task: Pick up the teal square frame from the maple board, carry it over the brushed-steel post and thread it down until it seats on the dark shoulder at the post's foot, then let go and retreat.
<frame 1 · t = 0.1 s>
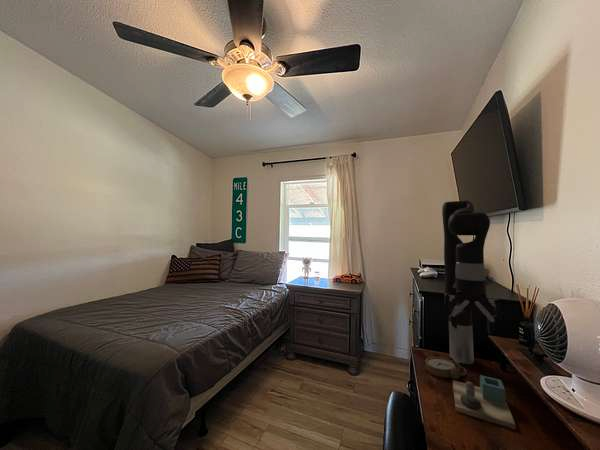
hand: (472, 330, 71), 29 cm above the table, fingers open, 8 cm apart
teal square frame: (492, 396, 82), point 1 cm above the table, touching post board
post board: (480, 403, 80), on the table
alarm clock: (445, 373, 99), on the table
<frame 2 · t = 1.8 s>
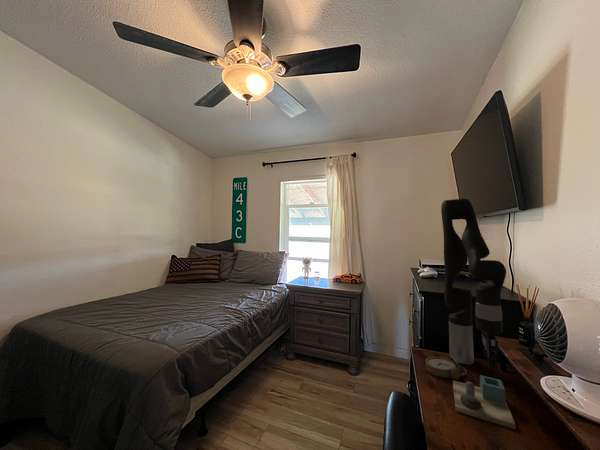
hand: (490, 363, 82), 13 cm above the table, fingers open, 8 cm apart
nothing on the table moved.
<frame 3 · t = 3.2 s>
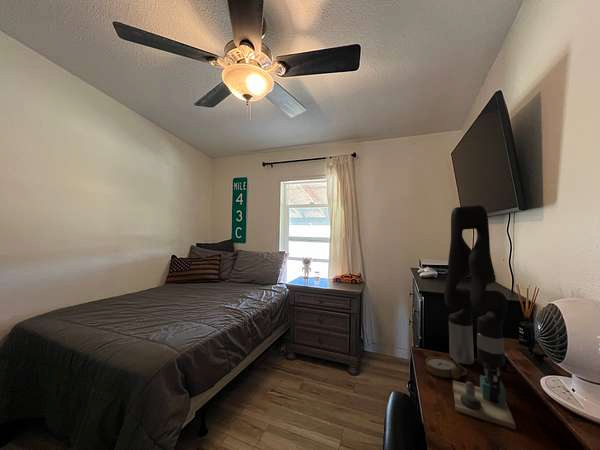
hand: (492, 396, 82), 2 cm above the table, fingers closed on teal square frame, 6 cm apart
teal square frame: (492, 396, 82), point 2 cm above the table, touching gripper, post board
everything else where it was.
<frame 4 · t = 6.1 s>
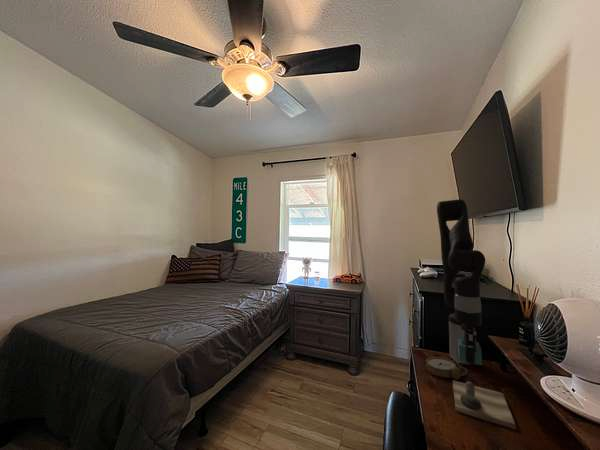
hand: (469, 358, 79), 16 cm above the table, fingers closed on teal square frame, 6 cm apart
teal square frame: (469, 358, 79), point 16 cm above the table, touching gripper
everything else where it was.
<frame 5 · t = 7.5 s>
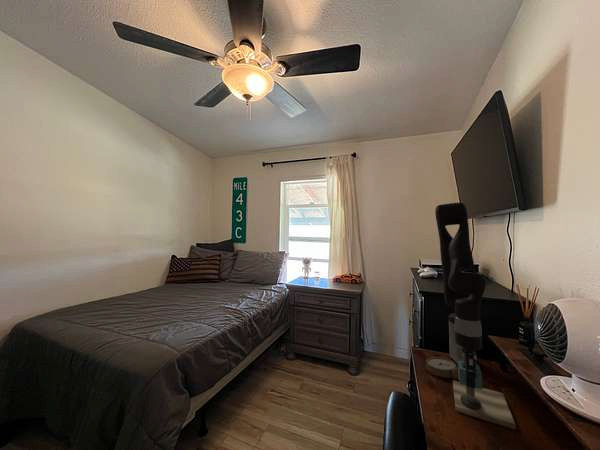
hand: (469, 381, 79), 9 cm above the table, fingers closed on teal square frame, 6 cm apart
teal square frame: (469, 381, 79), point 9 cm above the table, touching gripper
everything else where it was.
when the fingers open (4 cm above the table, at t = 8.9 s): teal square frame drops 1 cm, resting on post board.
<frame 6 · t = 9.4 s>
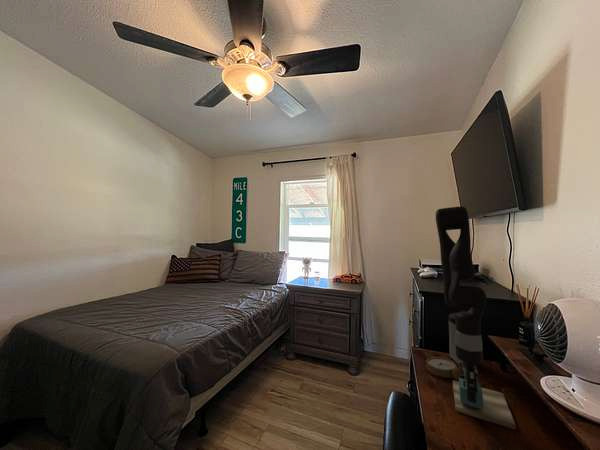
hand: (470, 394, 79), 5 cm above the table, fingers open, 8 cm apart
teal square frame: (470, 400, 79), point 2 cm above the table, touching post board
everything else where it was.
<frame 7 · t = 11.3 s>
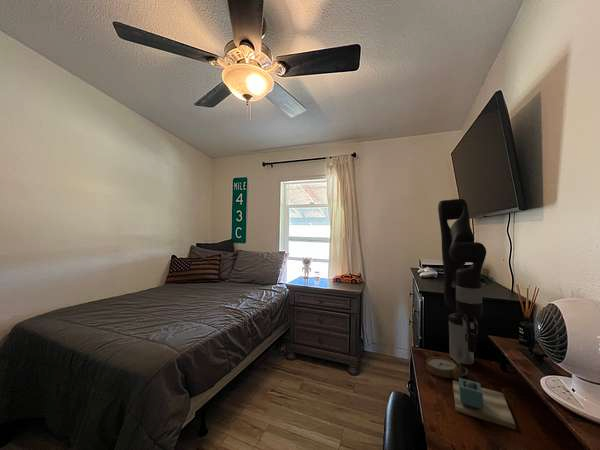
hand: (470, 346, 81), 20 cm above the table, fingers open, 8 cm apart
nothing on the table moved.
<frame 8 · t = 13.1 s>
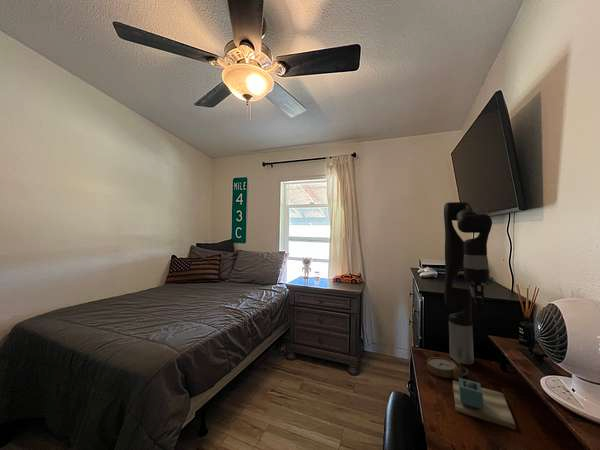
hand: (477, 310, 87), 30 cm above the table, fingers open, 8 cm apart
nothing on the table moved.
at the end: teal square frame 0.1 cm from the target spot on the post board, point 2.5 cm above the post board's base; the gripper is holding nothing; teal square frame tilted 0° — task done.
